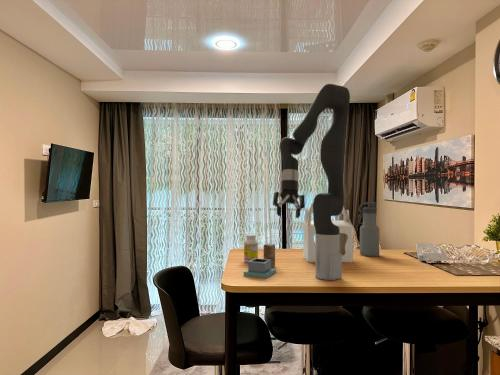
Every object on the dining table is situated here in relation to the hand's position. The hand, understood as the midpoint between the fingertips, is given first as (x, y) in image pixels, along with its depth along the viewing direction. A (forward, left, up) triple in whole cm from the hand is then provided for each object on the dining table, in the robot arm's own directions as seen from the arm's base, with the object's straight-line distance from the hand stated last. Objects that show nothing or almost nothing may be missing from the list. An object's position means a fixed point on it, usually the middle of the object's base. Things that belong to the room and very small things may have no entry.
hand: (288, 216), depth 146 cm
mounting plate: (+1, +16, -23) cm, 28 cm away
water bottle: (-6, -56, -23) cm, 61 cm away
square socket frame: (+1, +16, -21) cm, 27 cm away
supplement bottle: (+22, +3, -23) cm, 32 cm away
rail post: (+8, +4, -23) cm, 24 cm away
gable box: (+1, -29, -23) cm, 37 cm away
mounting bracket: (-35, -63, -23) cm, 76 cm away
